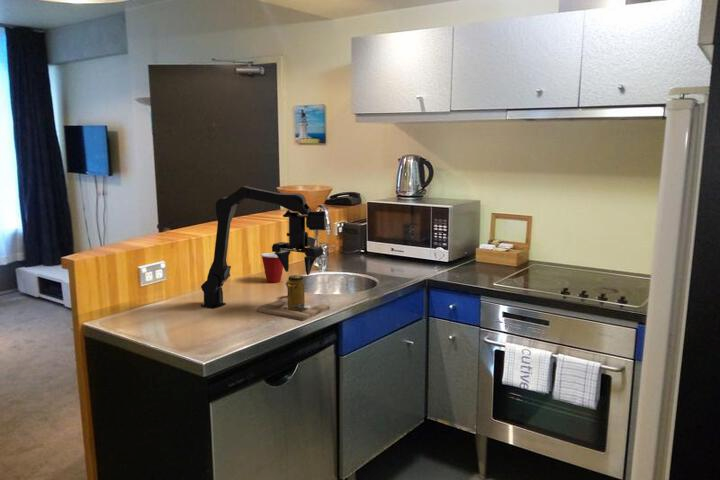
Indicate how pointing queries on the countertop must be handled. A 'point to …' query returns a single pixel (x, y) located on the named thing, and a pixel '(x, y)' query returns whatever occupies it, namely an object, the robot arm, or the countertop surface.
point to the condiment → (296, 294)
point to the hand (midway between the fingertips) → (297, 273)
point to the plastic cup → (272, 267)
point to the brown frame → (276, 310)
